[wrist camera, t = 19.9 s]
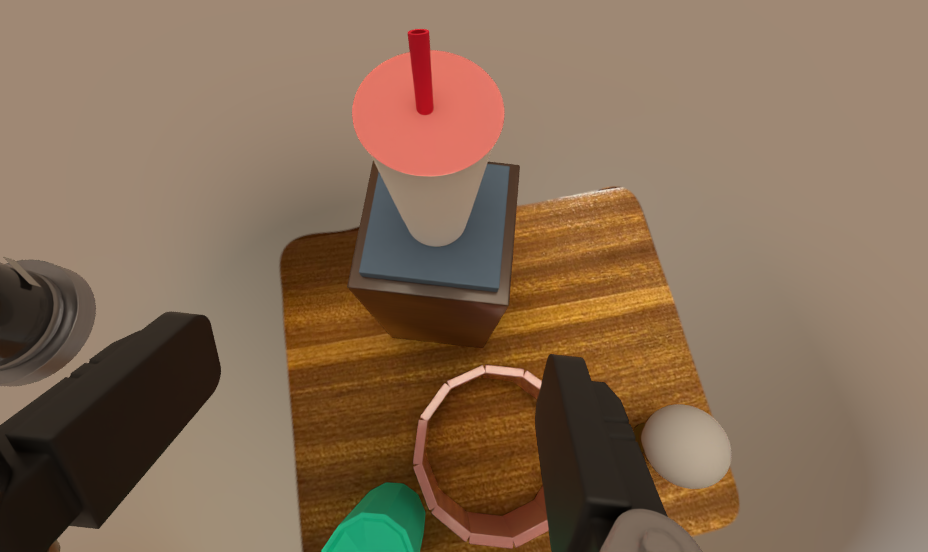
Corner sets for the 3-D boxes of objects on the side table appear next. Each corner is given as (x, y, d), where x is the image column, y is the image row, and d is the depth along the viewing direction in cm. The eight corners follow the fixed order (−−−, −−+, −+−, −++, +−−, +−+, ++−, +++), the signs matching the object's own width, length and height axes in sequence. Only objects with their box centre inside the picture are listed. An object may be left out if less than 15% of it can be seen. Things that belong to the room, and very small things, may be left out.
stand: (391, 337, 39) (346, 287, 22) (405, 251, 42) (375, 147, 25) (483, 348, 39) (509, 306, 22) (491, 261, 42) (520, 164, 25)
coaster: (361, 276, 23) (358, 272, 22) (384, 159, 25) (382, 151, 24) (497, 292, 22) (499, 288, 22) (507, 173, 25) (509, 166, 24)
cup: (396, 172, 24) (346, -45, 12) (487, 182, 24) (523, -26, 12) (381, 258, 22) (307, 101, 11) (479, 268, 22) (512, 123, 11)
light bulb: (611, 401, 38) (664, 400, 29) (673, 407, 38) (746, 409, 29) (611, 468, 37) (668, 491, 27) (676, 476, 37) (756, 501, 27)
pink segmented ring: (410, 514, 35) (402, 536, 29) (430, 364, 39) (427, 357, 33) (557, 531, 35) (578, 556, 29) (563, 379, 39) (582, 375, 33)
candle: (344, 545, 34) (291, 618, 23) (371, 471, 36) (335, 504, 24) (411, 571, 34) (391, 658, 22) (435, 495, 35) (428, 539, 24)
